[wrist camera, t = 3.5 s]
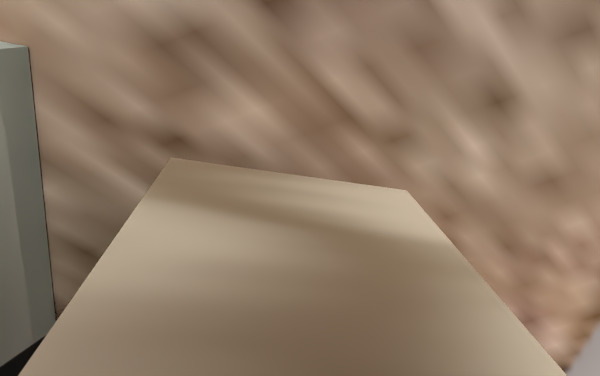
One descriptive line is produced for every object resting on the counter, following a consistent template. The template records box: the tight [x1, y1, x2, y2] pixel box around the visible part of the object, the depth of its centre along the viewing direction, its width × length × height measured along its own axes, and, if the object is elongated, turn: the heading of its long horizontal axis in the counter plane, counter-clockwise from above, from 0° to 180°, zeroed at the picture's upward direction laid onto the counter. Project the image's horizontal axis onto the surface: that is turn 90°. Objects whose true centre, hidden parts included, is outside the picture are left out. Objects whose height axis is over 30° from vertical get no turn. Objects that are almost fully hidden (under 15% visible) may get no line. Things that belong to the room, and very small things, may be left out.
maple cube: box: [18, 157, 567, 376], centre depth 6 cm, size 5×5×5 cm
